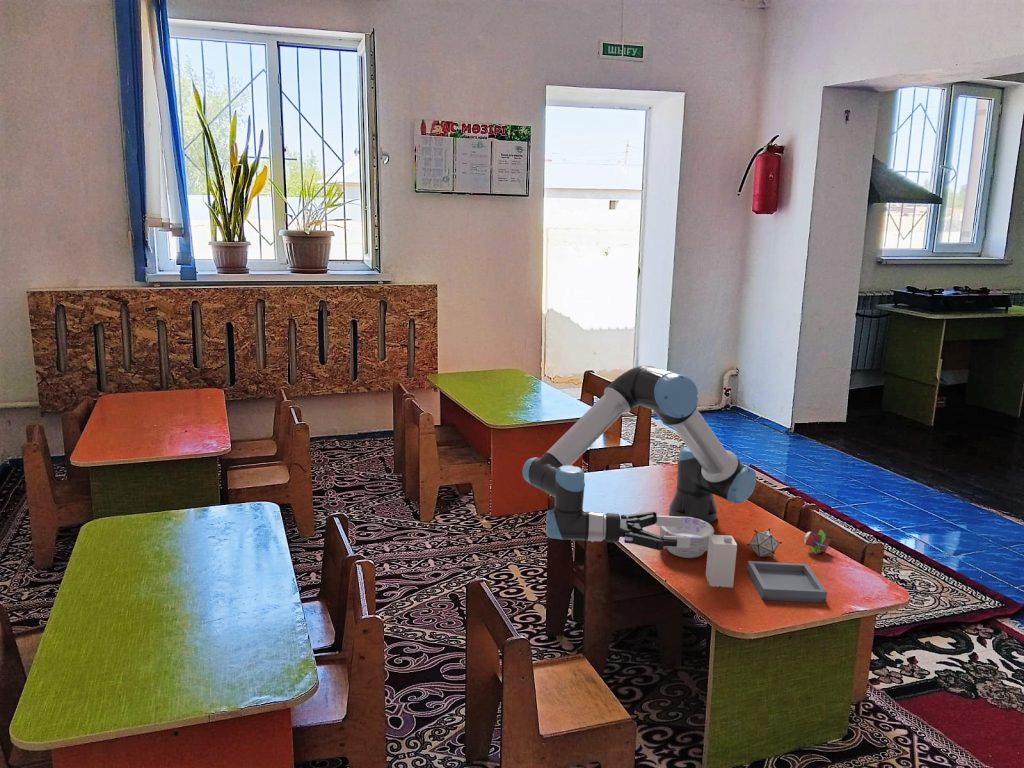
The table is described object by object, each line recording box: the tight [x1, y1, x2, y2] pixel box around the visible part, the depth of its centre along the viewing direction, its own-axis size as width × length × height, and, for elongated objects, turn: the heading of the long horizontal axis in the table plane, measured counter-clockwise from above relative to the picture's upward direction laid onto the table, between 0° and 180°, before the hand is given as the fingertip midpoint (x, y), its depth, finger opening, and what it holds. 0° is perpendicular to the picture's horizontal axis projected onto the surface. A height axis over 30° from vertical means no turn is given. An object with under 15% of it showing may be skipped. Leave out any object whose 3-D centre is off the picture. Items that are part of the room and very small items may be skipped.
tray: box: [746, 560, 828, 604], centre depth 203 cm, size 16×16×3 cm
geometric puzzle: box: [803, 528, 832, 555], centre depth 224 cm, size 7×7×8 cm
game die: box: [746, 527, 783, 560], centre depth 220 cm, size 9×8×10 cm
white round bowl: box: [659, 517, 715, 559], centre depth 222 cm, size 15×15×8 cm
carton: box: [705, 534, 738, 588], centre depth 204 cm, size 6×6×13 cm
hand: (685, 531), depth 202 cm, fingers open, 13 cm apart
